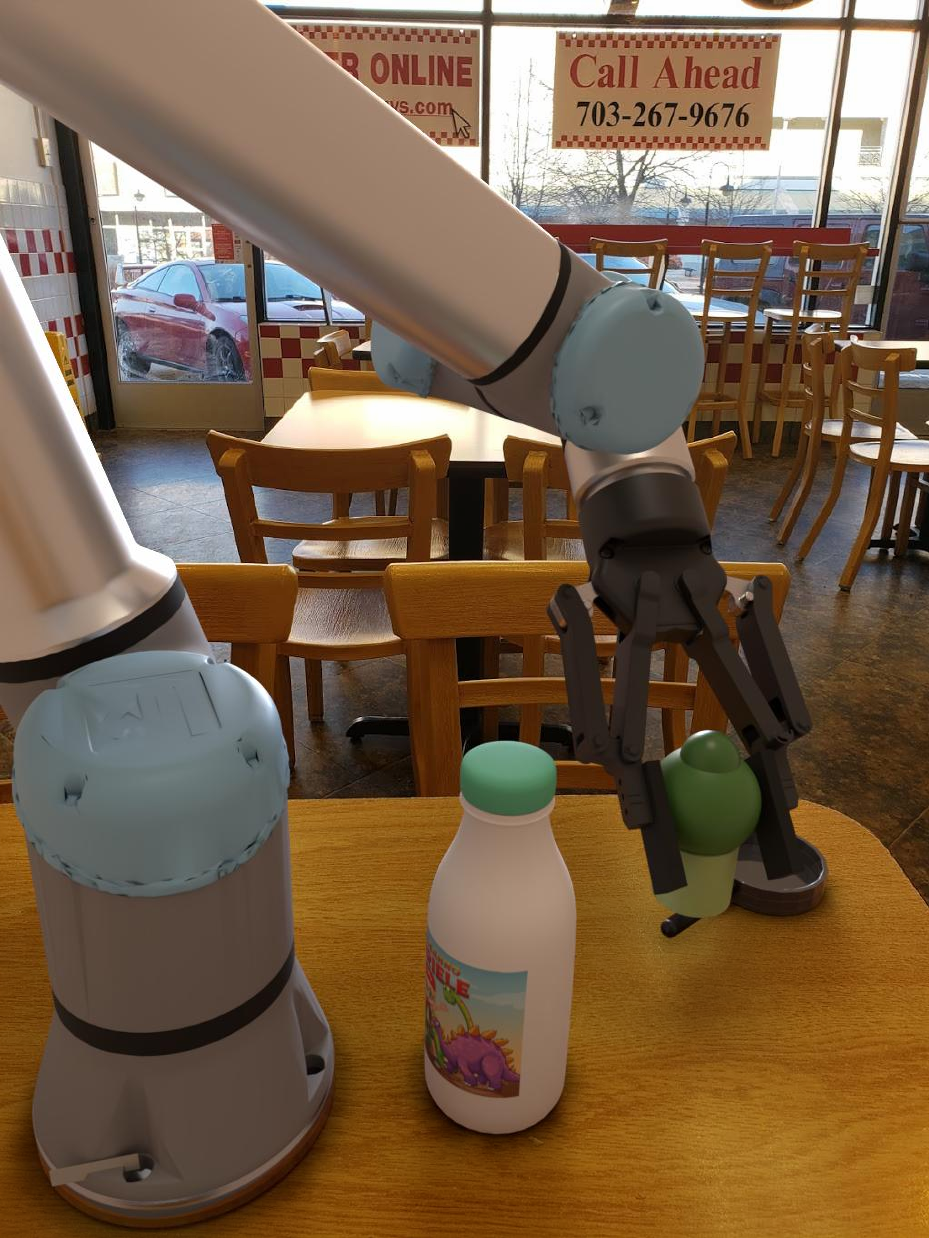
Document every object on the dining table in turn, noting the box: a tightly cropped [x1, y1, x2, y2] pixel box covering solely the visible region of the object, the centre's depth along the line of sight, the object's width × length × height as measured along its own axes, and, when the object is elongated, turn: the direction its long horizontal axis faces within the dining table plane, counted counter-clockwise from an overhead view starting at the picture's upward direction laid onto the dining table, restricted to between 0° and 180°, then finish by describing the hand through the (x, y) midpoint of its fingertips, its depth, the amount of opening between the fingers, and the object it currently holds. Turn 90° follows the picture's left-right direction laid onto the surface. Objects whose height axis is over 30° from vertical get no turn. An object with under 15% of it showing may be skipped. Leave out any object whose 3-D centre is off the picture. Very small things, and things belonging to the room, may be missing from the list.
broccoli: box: [651, 729, 762, 919], centre depth 52 cm, size 6×6×10 cm
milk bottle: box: [424, 740, 577, 1135], centre depth 48 cm, size 8×8×20 cm
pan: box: [730, 829, 829, 917], centre depth 69 cm, size 8×8×2 cm
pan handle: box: [660, 882, 737, 939], centre depth 64 cm, size 1×8×1 cm, turn 131°
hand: (729, 882), depth 49 cm, fingers closed on broccoli, 6 cm apart
